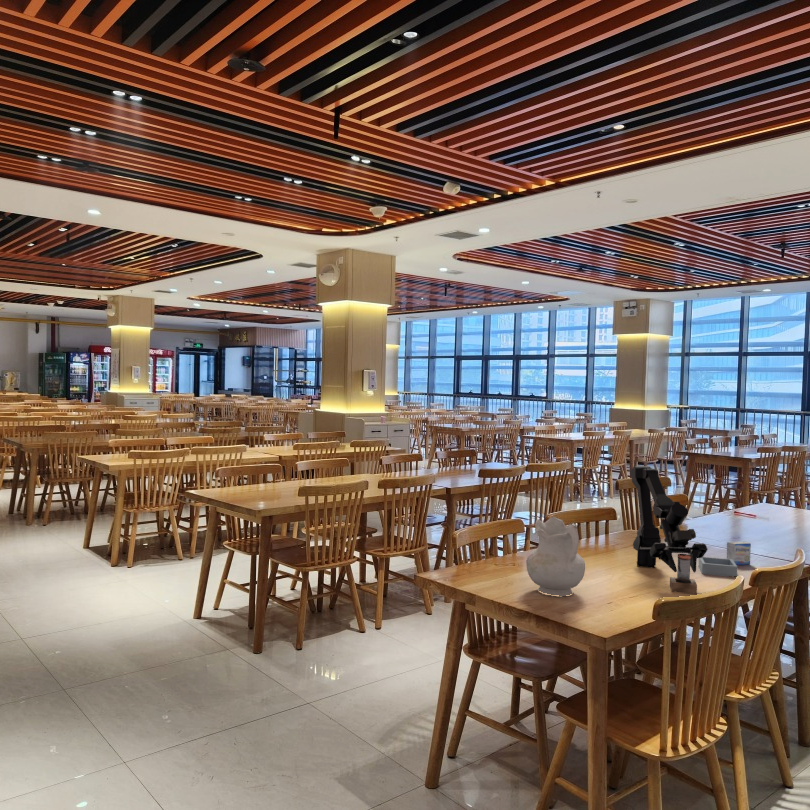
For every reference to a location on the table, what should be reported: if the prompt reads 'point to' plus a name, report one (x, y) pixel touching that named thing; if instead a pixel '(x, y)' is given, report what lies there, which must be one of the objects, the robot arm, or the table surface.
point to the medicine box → (739, 552)
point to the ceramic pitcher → (556, 558)
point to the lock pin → (683, 568)
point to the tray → (717, 566)
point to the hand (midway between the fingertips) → (685, 571)
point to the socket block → (683, 586)
